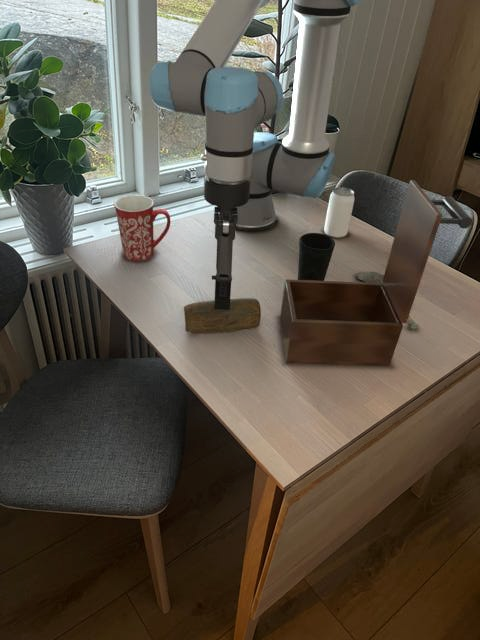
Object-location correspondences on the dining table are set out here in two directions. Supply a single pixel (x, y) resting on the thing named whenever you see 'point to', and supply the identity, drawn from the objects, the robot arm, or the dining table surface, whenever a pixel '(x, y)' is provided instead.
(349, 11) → the robot arm
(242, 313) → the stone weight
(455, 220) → the lid
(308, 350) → the chest
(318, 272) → the cup
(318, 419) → the dining table surface
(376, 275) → the soupspoon
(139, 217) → the mug
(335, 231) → the can
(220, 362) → the dining table surface
